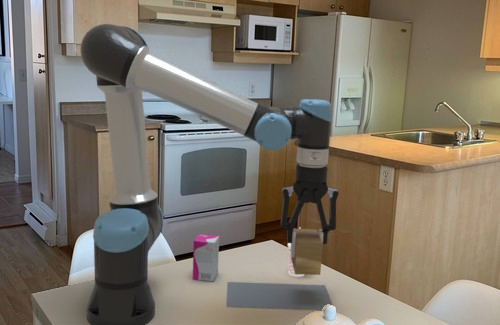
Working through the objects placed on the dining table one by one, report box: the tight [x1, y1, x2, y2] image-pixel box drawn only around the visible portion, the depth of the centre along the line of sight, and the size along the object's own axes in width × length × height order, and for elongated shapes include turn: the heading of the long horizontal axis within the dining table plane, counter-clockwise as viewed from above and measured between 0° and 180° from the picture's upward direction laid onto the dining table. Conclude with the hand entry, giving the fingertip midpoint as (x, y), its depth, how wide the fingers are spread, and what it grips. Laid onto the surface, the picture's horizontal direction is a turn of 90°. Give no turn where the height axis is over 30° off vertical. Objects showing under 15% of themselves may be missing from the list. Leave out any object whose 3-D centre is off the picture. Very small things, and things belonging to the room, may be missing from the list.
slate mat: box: [226, 281, 333, 311], centre depth 131 cm, size 26×14×1 cm, turn 92°
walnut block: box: [291, 228, 324, 276], centre depth 129 cm, size 10×6×8 cm, turn 2°
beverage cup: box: [287, 226, 306, 278], centre depth 144 cm, size 6×6×14 cm
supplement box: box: [192, 233, 220, 283], centre depth 139 cm, size 6×6×12 cm
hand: (305, 255), depth 129 cm, fingers closed on walnut block, 6 cm apart
